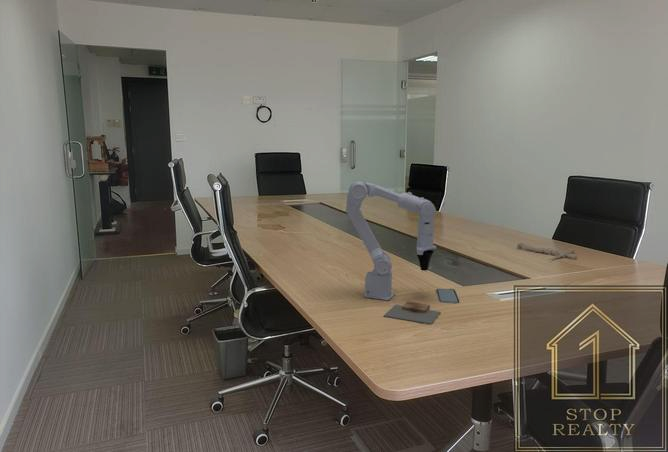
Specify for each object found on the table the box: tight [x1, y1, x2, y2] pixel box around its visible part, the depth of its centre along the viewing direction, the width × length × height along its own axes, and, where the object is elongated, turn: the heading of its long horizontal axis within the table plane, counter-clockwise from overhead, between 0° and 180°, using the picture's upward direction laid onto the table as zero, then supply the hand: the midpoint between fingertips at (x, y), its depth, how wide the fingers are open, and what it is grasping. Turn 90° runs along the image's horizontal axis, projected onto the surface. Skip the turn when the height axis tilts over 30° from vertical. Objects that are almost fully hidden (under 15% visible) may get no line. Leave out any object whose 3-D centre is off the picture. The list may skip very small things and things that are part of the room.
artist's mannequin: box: [516, 242, 578, 261], centre depth 254 cm, size 28×4×30 cm
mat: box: [383, 304, 442, 325], centre depth 166 cm, size 16×12×1 cm
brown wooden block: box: [401, 301, 431, 315], centre depth 170 cm, size 8×2×6 cm
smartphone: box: [435, 288, 461, 304], centre depth 186 cm, size 7×1×15 cm
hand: (424, 270), depth 183 cm, fingers closed
